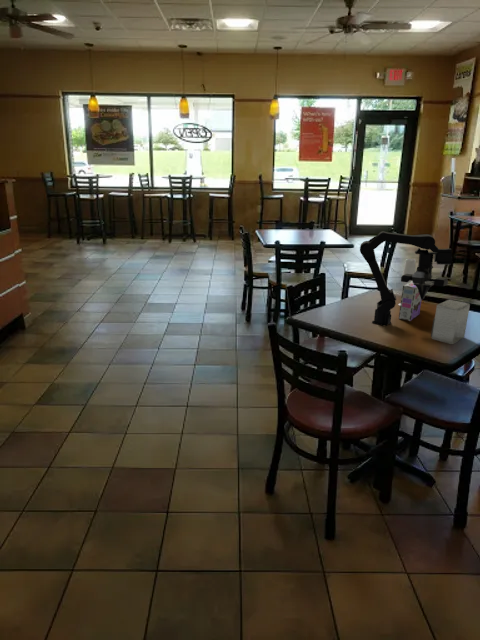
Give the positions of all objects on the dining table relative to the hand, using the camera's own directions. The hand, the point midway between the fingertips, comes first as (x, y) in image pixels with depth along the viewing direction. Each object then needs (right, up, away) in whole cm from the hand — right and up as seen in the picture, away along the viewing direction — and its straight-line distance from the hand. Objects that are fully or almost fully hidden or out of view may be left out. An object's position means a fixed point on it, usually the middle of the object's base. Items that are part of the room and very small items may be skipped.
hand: (422, 299), depth 212 cm
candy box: (+1, -8, +18) cm, 20 cm away
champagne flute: (+5, -2, +37) cm, 38 cm away
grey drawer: (+6, -16, -8) cm, 19 cm away
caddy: (+8, -17, -9) cm, 21 cm away
